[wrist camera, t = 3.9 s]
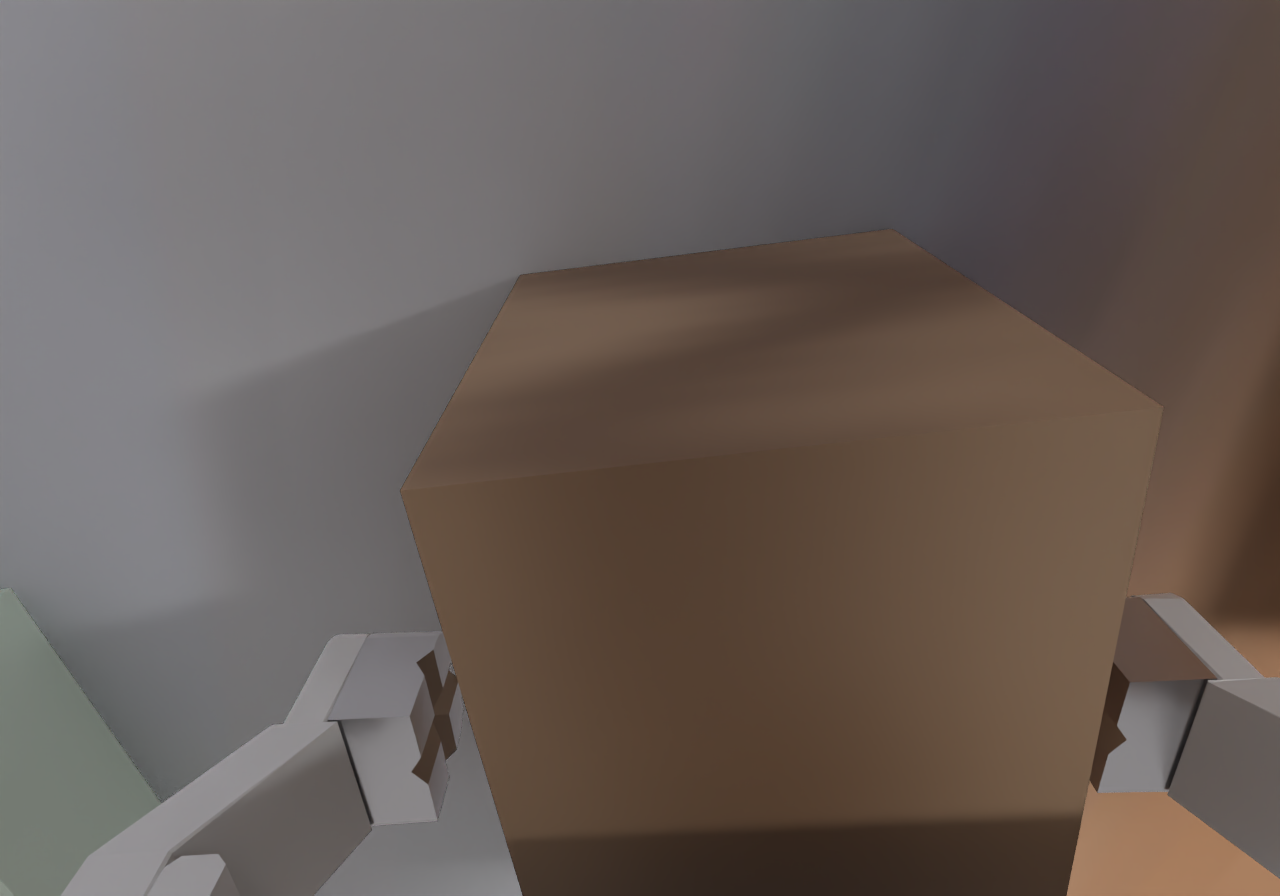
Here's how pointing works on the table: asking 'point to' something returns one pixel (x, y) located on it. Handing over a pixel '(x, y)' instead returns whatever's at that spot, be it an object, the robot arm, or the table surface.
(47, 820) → the sage brick
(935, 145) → the table surface
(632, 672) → the walnut brick
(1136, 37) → the table surface
